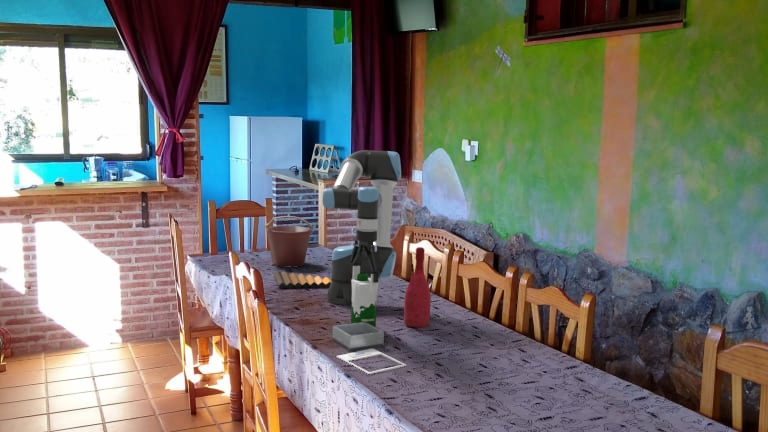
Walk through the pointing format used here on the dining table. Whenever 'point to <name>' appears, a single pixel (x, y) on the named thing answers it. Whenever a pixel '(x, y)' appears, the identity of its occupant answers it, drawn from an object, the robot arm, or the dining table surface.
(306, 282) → the pan flute
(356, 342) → the collar
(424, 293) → the wine bottle
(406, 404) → the dining table surface
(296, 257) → the bucket
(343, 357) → the photo frame
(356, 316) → the soya milk
